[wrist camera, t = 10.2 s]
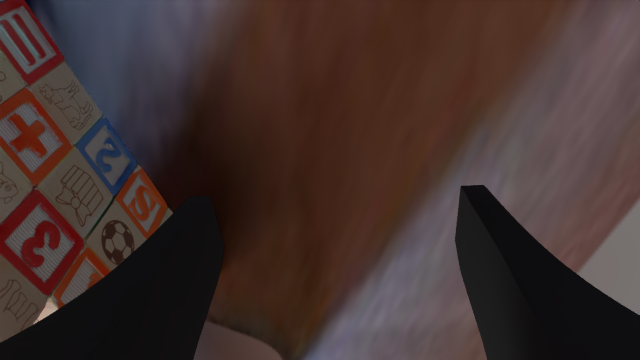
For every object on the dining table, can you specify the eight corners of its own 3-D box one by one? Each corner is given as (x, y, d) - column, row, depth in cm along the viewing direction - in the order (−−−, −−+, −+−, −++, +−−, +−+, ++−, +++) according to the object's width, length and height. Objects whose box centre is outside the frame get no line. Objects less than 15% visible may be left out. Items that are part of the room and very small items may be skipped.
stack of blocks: (221, 275, 30) (156, 495, 20) (138, 293, 31) (39, 507, 21) (-34, -89, 18) (-506, 3, 8) (-146, -30, 20) (-656, 107, 10)
